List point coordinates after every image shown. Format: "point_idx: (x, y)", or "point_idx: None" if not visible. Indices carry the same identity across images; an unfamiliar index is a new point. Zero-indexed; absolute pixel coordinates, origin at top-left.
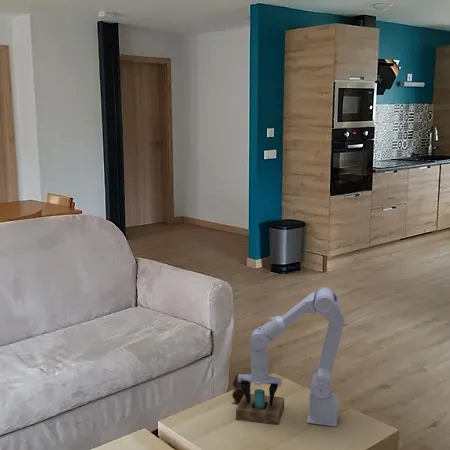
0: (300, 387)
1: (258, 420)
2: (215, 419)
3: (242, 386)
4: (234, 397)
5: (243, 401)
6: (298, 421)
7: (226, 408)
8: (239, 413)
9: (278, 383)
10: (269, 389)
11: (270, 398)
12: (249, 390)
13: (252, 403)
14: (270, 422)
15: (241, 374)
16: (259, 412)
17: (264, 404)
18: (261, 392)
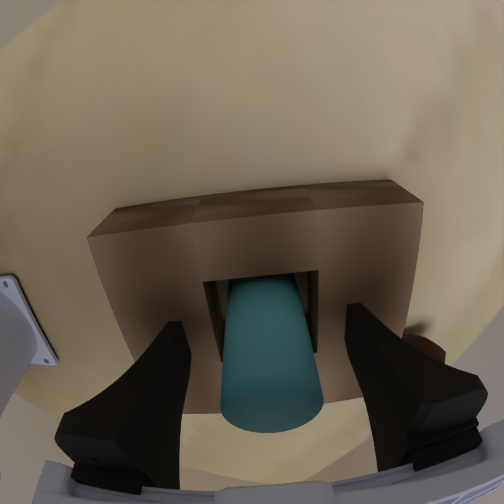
0: (182, 465)
1: (239, 195)
2: (487, 152)
3: (472, 388)
4: (432, 348)
5: (387, 322)
6: (49, 278)
7: (451, 275)
8: (388, 194)
9: (55, 488)
10: (114, 430)
11: (154, 360)
12: (371, 397)
13: (323, 322)
14: (155, 204)
15: (481, 495)
16: (229, 220)
17: (225, 325)
18: (247, 402)
